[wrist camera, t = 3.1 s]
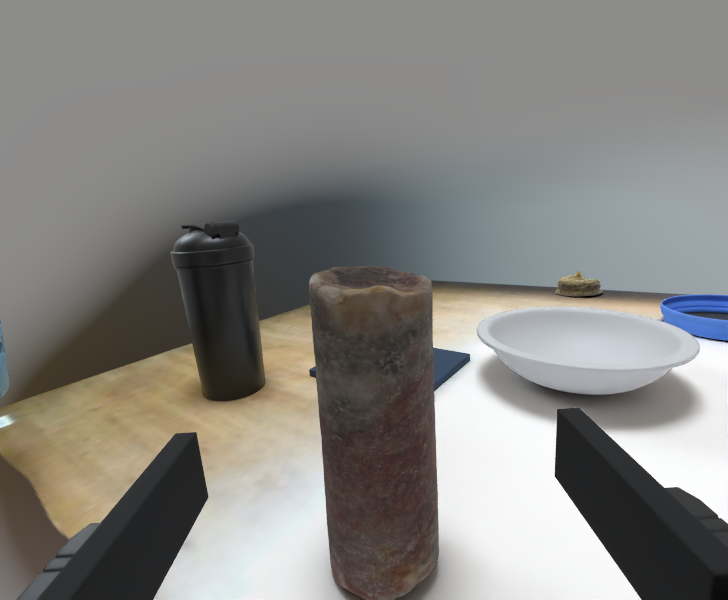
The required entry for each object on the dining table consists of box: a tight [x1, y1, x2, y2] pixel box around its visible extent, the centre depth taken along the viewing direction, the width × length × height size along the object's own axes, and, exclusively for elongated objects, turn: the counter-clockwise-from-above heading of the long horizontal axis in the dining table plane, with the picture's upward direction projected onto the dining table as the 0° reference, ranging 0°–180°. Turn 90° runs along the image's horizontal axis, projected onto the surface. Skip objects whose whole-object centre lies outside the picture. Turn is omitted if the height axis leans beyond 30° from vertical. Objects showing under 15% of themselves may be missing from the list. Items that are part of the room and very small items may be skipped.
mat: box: [310, 348, 470, 390], centre depth 59 cm, size 18×16×1 cm
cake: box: [555, 272, 603, 297], centre depth 94 cm, size 10×10×5 cm
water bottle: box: [171, 221, 265, 401], centre depth 54 cm, size 10×10×23 cm
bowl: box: [660, 295, 728, 341], centre depth 66 cm, size 18×18×4 cm
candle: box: [309, 266, 439, 600], centre depth 25 cm, size 8×7×20 cm
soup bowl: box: [477, 307, 700, 395], centre depth 51 cm, size 24×24×7 cm
